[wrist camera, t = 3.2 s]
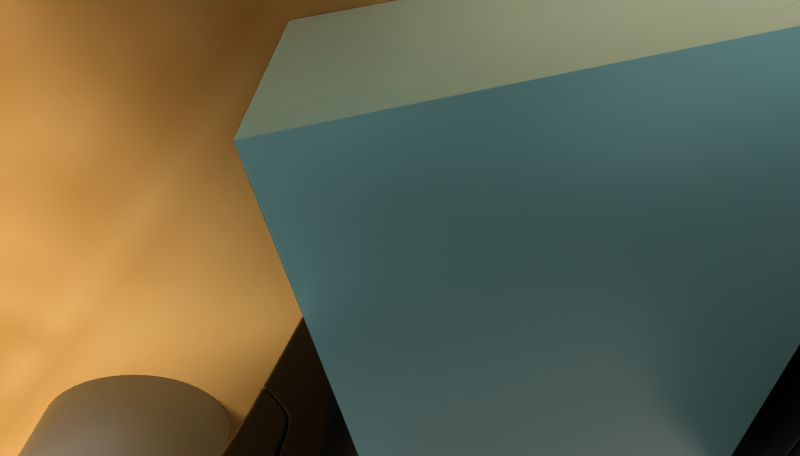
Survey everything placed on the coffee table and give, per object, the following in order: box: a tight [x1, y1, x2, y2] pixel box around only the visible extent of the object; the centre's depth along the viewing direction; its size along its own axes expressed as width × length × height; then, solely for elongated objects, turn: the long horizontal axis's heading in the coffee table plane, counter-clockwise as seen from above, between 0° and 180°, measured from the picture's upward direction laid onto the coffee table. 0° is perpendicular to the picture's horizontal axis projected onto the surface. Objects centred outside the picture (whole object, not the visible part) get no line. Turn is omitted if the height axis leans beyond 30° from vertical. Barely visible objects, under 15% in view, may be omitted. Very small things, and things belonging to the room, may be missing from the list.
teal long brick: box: [233, 0, 800, 456], centre depth 8 cm, size 10×5×6 cm, turn 8°
